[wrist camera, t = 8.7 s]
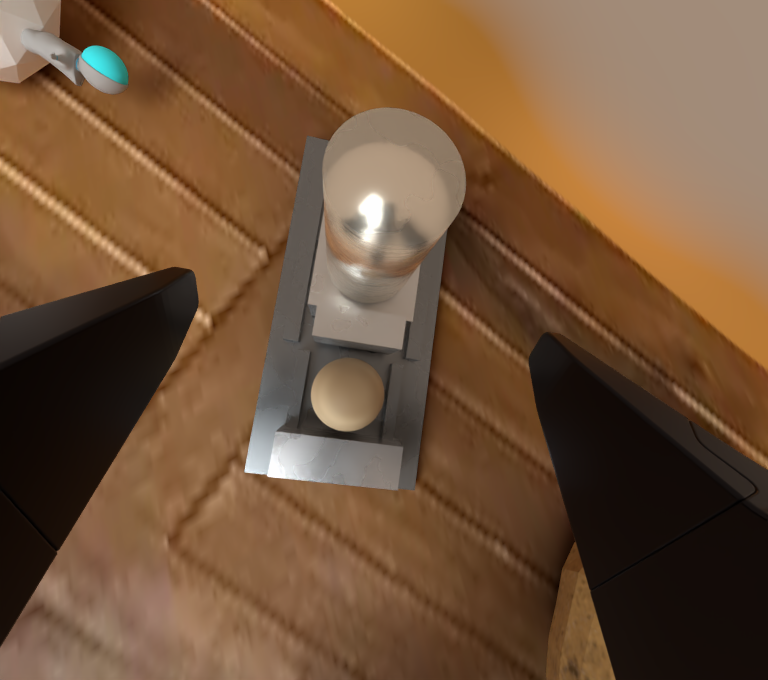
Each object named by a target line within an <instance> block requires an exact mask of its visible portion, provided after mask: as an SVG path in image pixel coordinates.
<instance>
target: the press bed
mask: <svg viewBox="0 0 768 680" xmlns="http://www.w3.org/2000/svg"><path fill="white" fill-rule="evenodd" d="M328 143H329V141H328V140H324V139H319V138H315V137H311V136H307V140H306V145H305V150H304V156H303V161H302V166H301V172H300V177H299V182H298V188H297V193H296V198H295V204H294V209H293V214H292V220H291V225H290V230H289V236H288V241H287V247H286V252H285V257H284V263H283V268H282V273H281V279H280V284H279V289H278V295H277V300H276V305H275V311H274V316H273V321H272V327H271V332H270V337H269V343H268V348H267V353H266V359H265V364H264V369H263V375H262V380H261V385H260V391H259V396H258V402H257V407H256V412H255V418H254V423H253V428H252V434H251V439H250V444H249V450H248V455H247V460H246V466H245V471H244V472H248V473H257V474H266V475H268V477H276V478H285V479H295V480H304V481H314V482H323V483H332V484H342V485H351V486H361V487H370V488H380V489H389V490H398V489H407V490H415V483H416V475H417V467H418V459H419V451H420V443H421V435H422V427H423V419H424V411H425V403H426V395H427V387H428V379H429V371H430V363H431V355H432V347H433V339H434V331H435V323H436V315H437V307H438V299H439V291H440V283H441V275H442V267H443V259H444V251H445V243H446V235H447V230H446V231H445V232H444V234H443V235H442V236H441V238H440V239H439V240H438V242H437V243H436V244H435V245H434V247H433V248H432V249H431V251H430V252H429V253H428V255H427V256H426V257H425V258H424V260H423V261H422V262H421V264H420V271H419V279H418V286H417V294H416V301H415V308H414V316H413V322H412V323H410V324H409V325H407V326H406V327H405V331H404V339H403V346H402V350H399V351H397V352H395V353H392V354H387V353H381V352H374V351H368V350H362V349H355V348H349V347H342V346H336V345H330V344H323V343H317V342H315V341H314V339H313V336H312V332H313V326H314V320H315V316H312V315H311V313H310V310H309V307H308V299H309V293H310V287H311V282H312V276H313V270H314V264H315V259H316V253H317V247H318V242H319V236H320V230H321V224H322V219H323V213H324V196H323V174H322V166H323V158H324V154H325V150H326V148H327V145H328ZM340 358H356V359H360V360H362V361H364V362H366V363H368V364H369V365H371V366H372V367H373V368H374V369H375V370H376V371H377V373H378V374H379V376H380V378H381V380H382V382H383V386H384V402H383V405H382V408H381V410H380V412H379V414H378V415H377V417H376V418H375V419H374V420H373V421H372V422H371V423H370V424H369V425H367V426H365V427H364V428H361V429H359V430H355V431H339V430H335V429H333V428H330V427H329V426H327V425H326V424H324V423H323V422H322V421H321V420H320V419H319V417H318V416H317V415H316V413H315V411H314V408H313V406H312V401H311V389H312V385H313V381H314V379H315V377H316V376H317V374H318V373H319V371H320V370H321V369H322V368H323V367H324V366H325V365H327V364H328V363H330V362H332V361H334V360H337V359H340Z"/></svg>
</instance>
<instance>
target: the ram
mask: <svg viewBox="0 0 768 680" xmlns="http://www.w3.org/2000/svg"><path fill="white" fill-rule="evenodd" d="M322 174H323V196H324V213H323V219H322V224H321V230H320V236H319V242H318V247H317V253H316V259H315V264H314V270H313V276H312V282H311V287H310V293H309V299H308V307H309V310H310V313H311V315H312V316H315V320H314V326H313V332H312V336H313V339H314V341H315V342H317V343H323V344H330V345H336V346H342V347H349V348H355V349H362V350H368V351H374V352H381V353H387V354H392V353H395V352H397V351H399V350H402V346H403V339H404V331H405V327H406V326H407V325H409V324H410V323H412V322H413V316H414V308H415V301H416V294H417V286H418V279H419V271H420V264H421V262H422V261H423V260H424V258H425V257H426V256H427V255H428V253H429V252H430V251H431V249H432V248H433V247H434V245H435V244H436V243H437V242H438V240H439V239H440V238H441V236H442V235H443V234H444V232H445V231H446V230H447V228H448V227H449V226H450V225H451V223H452V222H453V220H454V219H455V218H456V216H457V215H458V213H459V211H460V209H461V206H462V203H463V200H464V196H465V191H466V176H465V170H464V165H463V162H462V159H461V156H460V154H459V152H458V150H457V148H456V147H455V145H454V143H453V142H452V140H451V139H450V138H449V137H448V136H447V134H446V133H445V132H444V131H443V130H442V129H441V128H440V127H438V126H437V125H436V124H434V123H433V122H432V121H430V120H428V119H427V118H425V117H423V116H421V115H419V114H417V113H414V112H411V111H408V110H403V109H398V108H377V109H372V110H368V111H365V112H362V113H360V114H358V115H355V116H353V117H352V118H350V119H349V120H347V121H346V122H345V123H344V124H343V125H341V126H340V127H339V128H338V130H337V131H336V132H335V133H334V134H333V136H332V138H331V139H330V141H329V143H328V145H327V148H326V150H325V154H324V158H323V166H322Z"/></svg>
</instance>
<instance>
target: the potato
mask: <svg viewBox="0 0 768 680" xmlns="http://www.w3.org/2000/svg"><path fill="white" fill-rule="evenodd" d="M590 591H591V590H590V589H589V586H588V583H587V580H586V576H585V573H584V569H583V566H582V562H581V559H580V556H579V552H578V549H577V545H576V542H575V543H574V545H573V547H572V549H571V551H570V553H569V555H568V558H567V560H566V562H565V564H564V566H563V568H562V574H561V579H560V585H559V590H558V596H557V601H556V606H555V610H554V615H553V619H552V624H551V628H550V633H549V637H548V651H547V666H546V679H547V680H615V676H614V673H613V669H612V666H611V662H610V659H609V656H608V652H607V649H606V645H605V642H604V638H603V635H602V632H601V628H600V625H599V621H598V618H597V615H596V611H595V608H594V604H593V601H592V597H591V594H590Z"/></svg>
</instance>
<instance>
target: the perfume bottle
mask: <svg viewBox="0 0 768 680" xmlns="http://www.w3.org/2000/svg"><path fill="white" fill-rule="evenodd" d="M60 12H61V0H0V81H5V82H13V83H20V82H22V81H23V80H25V79H26V78H28V77H29V76H31V75H32V74H34V73H35V72H37V71H38V70H40V69H41V68H43V67H44V66H46V65H47V64H49V63H51V64H52V65H54V66H55V67H56V68H57V69H59V70H60V71H61V72H62V73H63V74H65V75H66V76H67V77H68V78H69V79H70V80H71V81H72V82H74V83H75V84H76V85H77V86H82V84H83V81H84V79H86V80H87V81H88V82H89V83H90V84H91V85H92V86H93V87H95V88H96V89H98V90H100V91H101V92H104V93H107V94H119V93H122V92H123V91H125V90H126V89H127V88H128V85H129V84H128V72H127V69H126V67H125V65H124V63H123V61H122V60H121V59H120V58H119V57H118V56H117V55H116V54H115V53H114V52H113V51H111V50H109V49H107V48H105V47H102V46H90V47H88V48H86V49H85V50H84V51H83V53H82V52H81V51H80V50H78V49H76V48H75V47H73V46H71V45H70V44H68V43H66V42H65V41H63V40H62V39H60V38H59V35H60Z"/></svg>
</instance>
